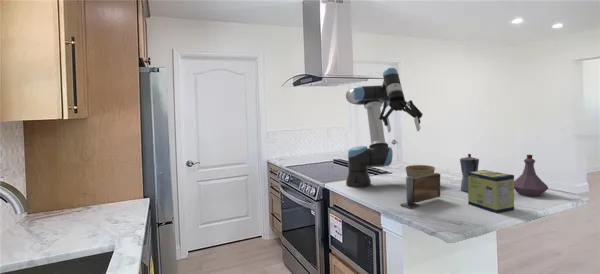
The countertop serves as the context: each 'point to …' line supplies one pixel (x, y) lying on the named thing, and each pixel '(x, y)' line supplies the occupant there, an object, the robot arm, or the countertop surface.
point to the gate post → (409, 194)
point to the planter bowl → (419, 170)
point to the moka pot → (467, 169)
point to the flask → (529, 180)
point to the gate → (426, 187)
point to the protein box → (491, 190)
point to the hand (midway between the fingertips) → (404, 130)
